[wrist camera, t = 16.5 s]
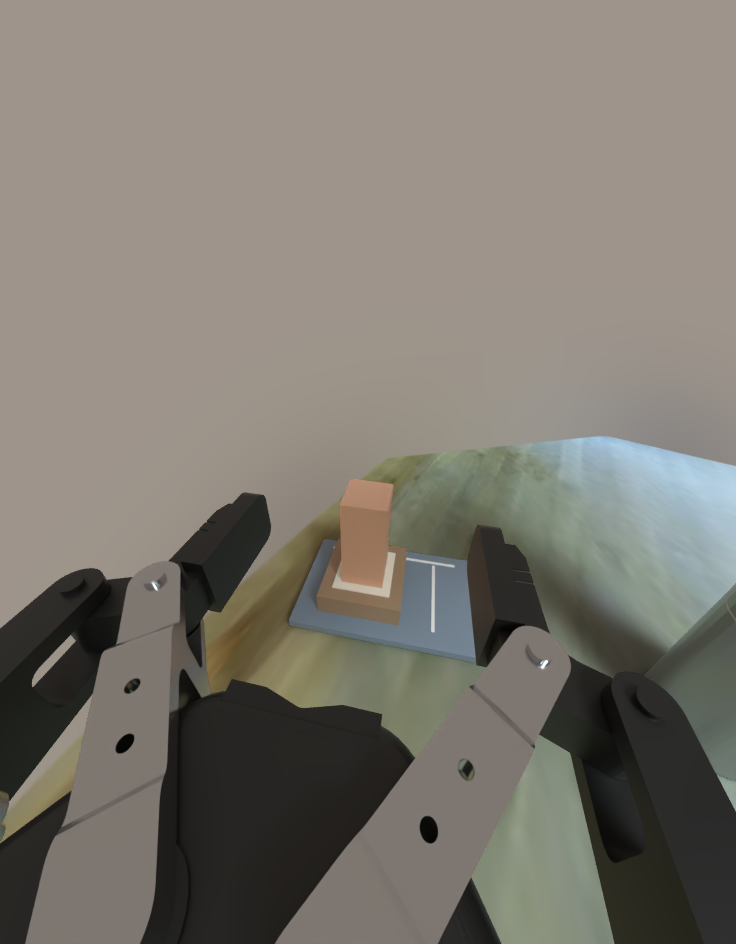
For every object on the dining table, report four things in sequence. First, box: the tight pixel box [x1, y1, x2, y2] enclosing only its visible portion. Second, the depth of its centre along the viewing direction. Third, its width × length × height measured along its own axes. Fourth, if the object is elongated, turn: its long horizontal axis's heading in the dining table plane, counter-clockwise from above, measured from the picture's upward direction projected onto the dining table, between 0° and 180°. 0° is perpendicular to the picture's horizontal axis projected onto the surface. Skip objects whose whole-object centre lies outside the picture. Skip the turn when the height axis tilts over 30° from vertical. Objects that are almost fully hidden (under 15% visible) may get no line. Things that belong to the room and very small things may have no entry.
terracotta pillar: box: [340, 479, 393, 588], centre depth 37 cm, size 5×5×12 cm
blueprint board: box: [289, 538, 476, 663], centre depth 41 cm, size 22×14×4 cm, turn 79°
